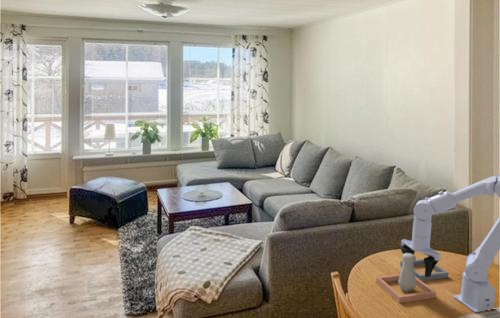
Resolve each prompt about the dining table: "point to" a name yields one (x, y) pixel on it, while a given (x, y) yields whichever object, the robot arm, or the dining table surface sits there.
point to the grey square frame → (439, 274)
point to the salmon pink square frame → (409, 297)
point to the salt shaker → (407, 273)
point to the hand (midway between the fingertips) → (418, 271)
